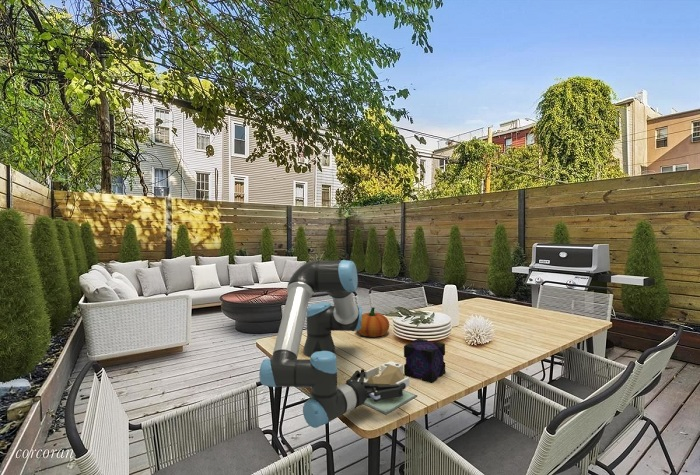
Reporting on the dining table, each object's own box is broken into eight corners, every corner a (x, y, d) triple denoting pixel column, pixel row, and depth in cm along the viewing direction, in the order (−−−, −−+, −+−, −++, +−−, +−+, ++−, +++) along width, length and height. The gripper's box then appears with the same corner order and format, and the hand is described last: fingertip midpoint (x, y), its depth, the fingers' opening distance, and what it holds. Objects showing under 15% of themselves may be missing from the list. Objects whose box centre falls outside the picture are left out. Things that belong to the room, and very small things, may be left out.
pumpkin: (349, 332, 198) (349, 306, 198) (378, 327, 206) (378, 302, 206) (365, 341, 180) (364, 313, 180) (396, 336, 188) (395, 309, 188)
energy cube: (418, 366, 146) (418, 338, 146) (445, 373, 138) (445, 343, 138) (404, 375, 137) (403, 345, 137) (432, 383, 129) (431, 352, 129)
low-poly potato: (405, 388, 125) (379, 369, 129) (415, 369, 120) (387, 350, 124) (386, 417, 113) (358, 395, 118) (396, 397, 108) (366, 375, 112)
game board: (333, 389, 125) (333, 388, 125) (365, 375, 137) (365, 374, 137) (385, 414, 107) (385, 413, 107) (417, 396, 119) (417, 395, 119)
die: (380, 380, 133) (380, 364, 132) (390, 375, 137) (390, 360, 137) (393, 385, 128) (393, 369, 128) (402, 380, 132) (402, 364, 132)
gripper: (323, 395, 114) (366, 375, 129) (380, 424, 96) (423, 398, 111) (322, 372, 114) (366, 356, 129) (379, 397, 96) (422, 375, 111)
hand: (392, 375), depth 120 cm, fingers open, 13 cm apart
